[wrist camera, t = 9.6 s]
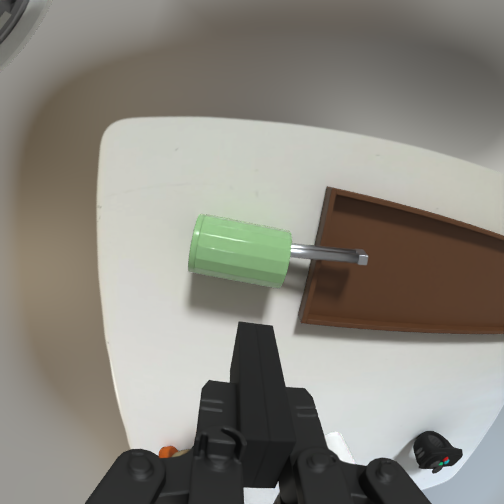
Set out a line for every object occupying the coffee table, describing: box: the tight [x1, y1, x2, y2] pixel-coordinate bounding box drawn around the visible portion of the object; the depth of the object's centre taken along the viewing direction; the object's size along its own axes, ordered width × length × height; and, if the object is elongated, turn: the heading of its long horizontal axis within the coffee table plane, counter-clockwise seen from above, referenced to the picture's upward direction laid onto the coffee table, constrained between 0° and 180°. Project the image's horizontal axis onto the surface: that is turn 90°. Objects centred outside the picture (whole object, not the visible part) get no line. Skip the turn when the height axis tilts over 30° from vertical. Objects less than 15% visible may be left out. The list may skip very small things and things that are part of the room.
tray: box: [298, 186, 504, 334], centre depth 35 cm, size 41×15×2 cm, turn 80°
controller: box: [413, 431, 463, 473], centre depth 40 cm, size 4×12×10 cm, turn 65°
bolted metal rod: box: [290, 243, 368, 265], centre depth 31 cm, size 2×1×16 cm
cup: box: [324, 432, 356, 464], centre depth 37 cm, size 5×5×12 cm
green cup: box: [188, 214, 292, 289], centre depth 31 cm, size 6×6×9 cm
